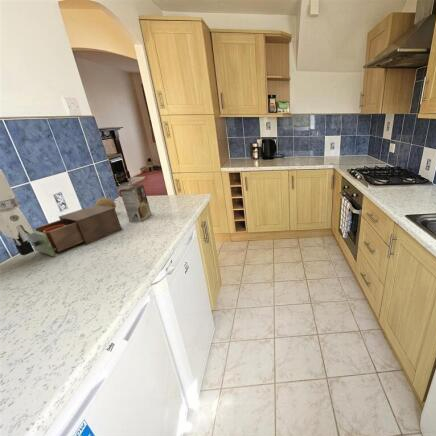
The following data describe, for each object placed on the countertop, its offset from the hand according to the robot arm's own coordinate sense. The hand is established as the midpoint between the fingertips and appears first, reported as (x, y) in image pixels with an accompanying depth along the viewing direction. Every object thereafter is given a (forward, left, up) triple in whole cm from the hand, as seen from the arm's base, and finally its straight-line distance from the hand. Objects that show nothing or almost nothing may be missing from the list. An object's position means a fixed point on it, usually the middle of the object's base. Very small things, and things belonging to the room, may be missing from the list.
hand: (27, 253), depth 87 cm
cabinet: (0, +22, -3) cm, 22 cm away
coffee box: (+2, +42, -3) cm, 42 cm away
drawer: (0, +10, -2) cm, 10 cm away
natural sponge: (-17, +38, -3) cm, 42 cm away
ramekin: (0, +10, -1) cm, 10 cm away
